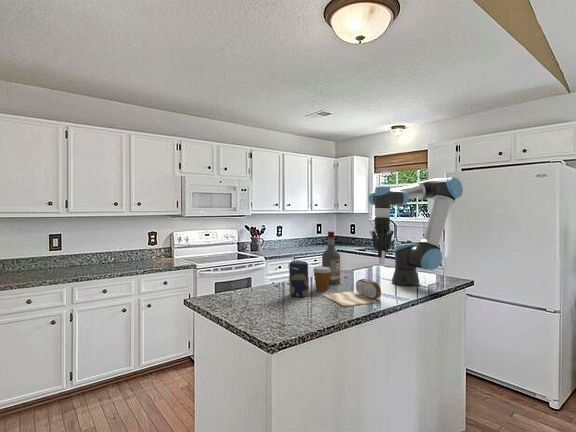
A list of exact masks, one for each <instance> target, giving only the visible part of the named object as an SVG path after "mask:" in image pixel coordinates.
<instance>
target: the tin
mask: <svg viewBox="0 0 576 432" xmlns="http://www.w3.org/2000/svg"><path fill="white" fill-rule="evenodd" d="M355 289H356V292H357V294H359V295H362V296H364V297H366V298H369V299H370V298H371V300H376V299H379V298H380V297H381V294H382V291H381V286H380V285H379V284H378V282H376V281H373V280H370V279H366V278H361V279H358V280H357V281H356V283H355Z"/></svg>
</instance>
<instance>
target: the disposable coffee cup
mask: <svg viewBox="0 0 576 432" xmlns="http://www.w3.org/2000/svg"><path fill="white" fill-rule="evenodd" d="M312 271H313V275H314V282H315V291H317V292H327V291H328V290H329V285H330V284H329V276H330V271H331V270H330V268H329V267H324V266H322V265H321V266H320V265H319V266H314V267H313V269H312Z"/></svg>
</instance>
